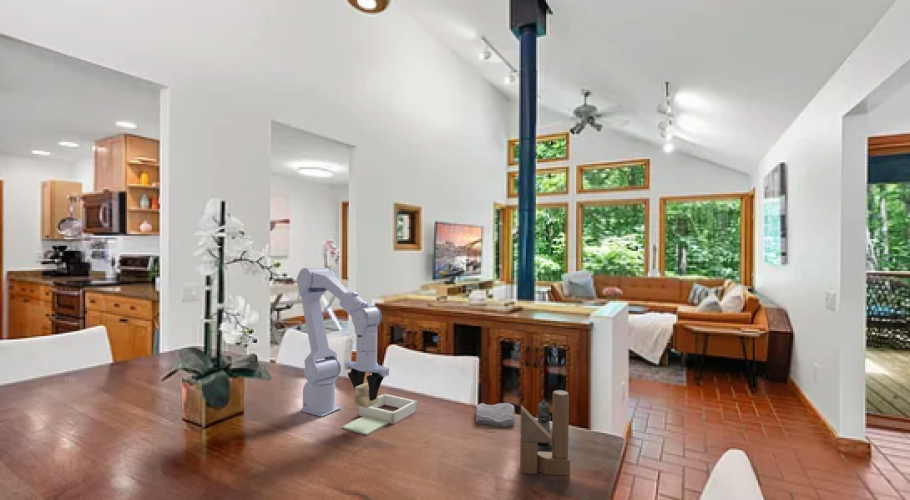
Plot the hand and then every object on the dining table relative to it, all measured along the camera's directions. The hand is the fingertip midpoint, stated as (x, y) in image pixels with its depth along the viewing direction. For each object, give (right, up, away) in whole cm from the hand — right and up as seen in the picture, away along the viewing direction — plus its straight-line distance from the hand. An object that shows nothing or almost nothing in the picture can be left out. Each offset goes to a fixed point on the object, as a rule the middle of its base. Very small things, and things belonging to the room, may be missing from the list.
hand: (366, 397), depth 119 cm
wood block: (0, -2, 0) cm, 2 cm away
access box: (+5, -8, +10) cm, 14 cm away
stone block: (+37, -9, +5) cm, 38 cm away
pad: (0, -8, 0) cm, 8 cm away
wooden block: (+45, -9, -23) cm, 52 cm away
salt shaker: (+48, -9, -11) cm, 50 cm away
